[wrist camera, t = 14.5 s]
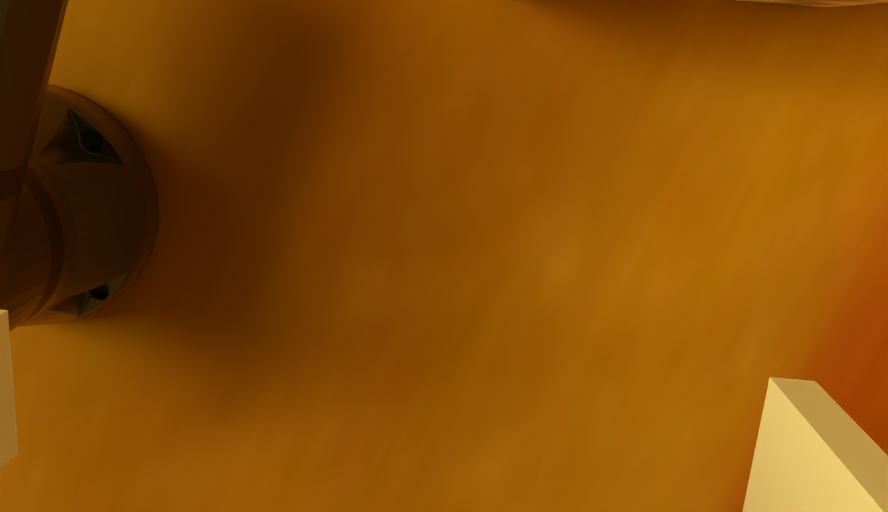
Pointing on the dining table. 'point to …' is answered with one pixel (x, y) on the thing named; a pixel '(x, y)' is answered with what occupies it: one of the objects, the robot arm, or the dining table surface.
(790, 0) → the rack
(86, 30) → the dining table surface
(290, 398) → the dining table surface
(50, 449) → the dining table surface
